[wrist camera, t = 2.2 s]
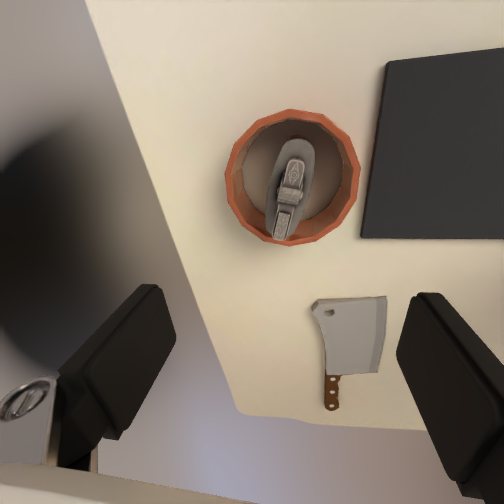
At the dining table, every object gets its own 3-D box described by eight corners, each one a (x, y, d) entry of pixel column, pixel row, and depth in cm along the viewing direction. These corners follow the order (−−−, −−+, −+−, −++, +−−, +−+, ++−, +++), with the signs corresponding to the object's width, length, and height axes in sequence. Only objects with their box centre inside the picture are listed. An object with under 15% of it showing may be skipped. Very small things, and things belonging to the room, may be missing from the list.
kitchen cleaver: (373, 413, 41) (313, 410, 42) (371, 406, 42) (312, 404, 43) (393, 298, 30) (312, 300, 32) (390, 293, 31) (311, 295, 33)
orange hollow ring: (355, 106, 22) (369, 101, 18) (341, 228, 28) (350, 247, 23) (231, 117, 24) (217, 115, 20) (242, 228, 30) (232, 245, 25)
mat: (696, 26, 17) (713, 22, 16) (571, 236, 24) (579, 239, 23) (386, 63, 20) (389, 60, 20) (360, 235, 28) (361, 238, 27)
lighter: (283, 132, 24) (275, 136, 15) (316, 138, 24) (328, 146, 15) (268, 208, 28) (254, 245, 19) (296, 214, 28) (296, 255, 19)
